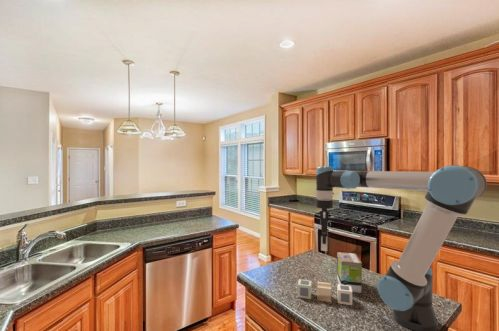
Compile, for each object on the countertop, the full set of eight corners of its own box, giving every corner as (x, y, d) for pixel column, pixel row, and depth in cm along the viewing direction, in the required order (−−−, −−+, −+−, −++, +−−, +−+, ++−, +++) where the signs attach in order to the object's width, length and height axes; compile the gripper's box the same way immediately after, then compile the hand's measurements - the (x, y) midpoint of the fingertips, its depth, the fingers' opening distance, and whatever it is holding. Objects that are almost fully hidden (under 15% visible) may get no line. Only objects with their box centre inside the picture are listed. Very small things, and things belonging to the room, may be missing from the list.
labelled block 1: (310, 299, 117) (310, 286, 117) (297, 297, 118) (297, 284, 118) (311, 293, 122) (311, 280, 123) (298, 291, 124) (299, 278, 124)
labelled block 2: (352, 305, 111) (352, 291, 111) (337, 303, 113) (337, 289, 113) (351, 298, 117) (351, 285, 117) (337, 296, 119) (337, 283, 119)
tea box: (362, 293, 123) (362, 262, 123) (340, 291, 125) (340, 261, 125) (355, 280, 137) (355, 252, 137) (336, 278, 139) (336, 251, 139)
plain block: (331, 302, 114) (331, 289, 114) (317, 300, 116) (317, 287, 116) (330, 296, 120) (330, 283, 120) (317, 294, 122) (317, 281, 122)
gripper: (333, 202, 107) (333, 255, 107) (332, 197, 128) (332, 241, 128) (315, 201, 109) (315, 254, 109) (317, 196, 130) (317, 240, 130)
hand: (324, 247), depth 118 cm, fingers open, 9 cm apart
